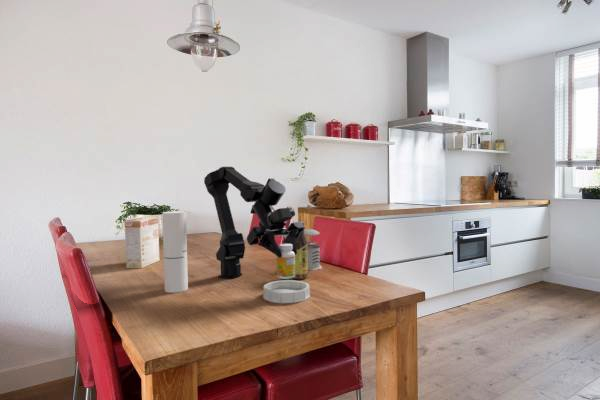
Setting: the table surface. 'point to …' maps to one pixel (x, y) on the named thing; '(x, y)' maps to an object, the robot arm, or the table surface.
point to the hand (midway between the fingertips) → (288, 255)
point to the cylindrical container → (175, 251)
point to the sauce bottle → (301, 257)
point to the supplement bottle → (286, 262)
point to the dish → (286, 291)
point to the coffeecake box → (141, 242)
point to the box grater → (312, 248)
